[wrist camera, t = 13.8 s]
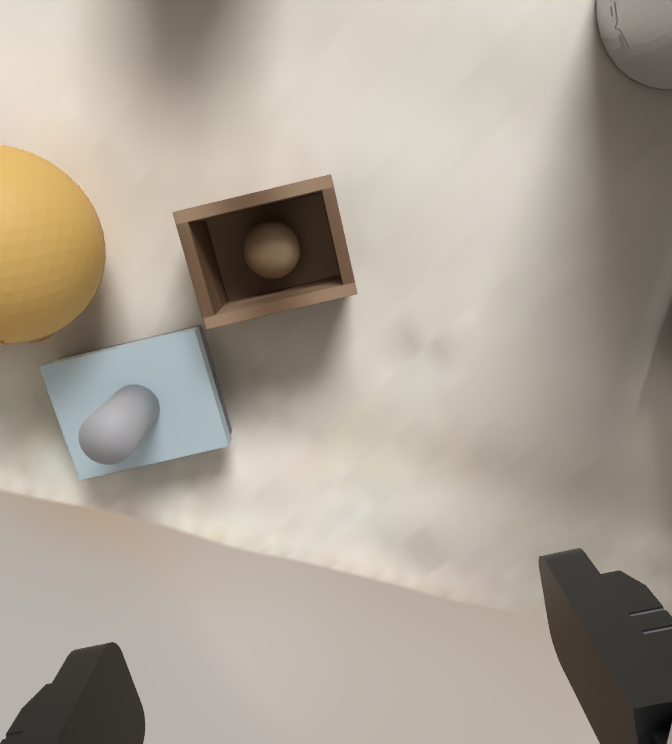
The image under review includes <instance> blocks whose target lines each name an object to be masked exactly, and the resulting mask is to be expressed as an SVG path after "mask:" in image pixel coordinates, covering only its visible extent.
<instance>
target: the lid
mask: <svg viewBox="0 0 672 744" xmlns="http://www.w3.org/2000/svg"><path fill="white" fill-rule="evenodd" d="M39 370H40V373H41V375H42V378H43V381H44V384H45V386H46V389H47V392H48V395H49V397H50V400H51V403H52V406H53V408H54V411H55V414H56V417H57V419H58V422H59V425H60V428H61V430H62V433H63V436H64V439H65V441H66V444H67V447H68V450H69V452H70V455H71V458H72V461H73V463H74V466H75V469H76V471H77V474H78V477H79V480H84V479H88V478H93V477H97V476H101V475H106V474H110V473H114V472H119V471H123V470H127V469H132V468H136V467H140V466H145V465H149V464H154V463H158V462H162V461H167V460H171V459H175V458H180V457H184V456H188V455H193V454H197V453H201V452H206V451H210V450H214V449H219V448H223V447H227V446H229V444H230V441H231V437H230V433H229V430H228V426H227V423H226V420H225V416H224V413H223V409H222V406H221V402H220V399H219V395H218V392H217V389H216V385H215V382H214V378H213V375H212V371H211V368H210V365H209V361H208V358H207V354H206V351H205V347H204V344H203V341H202V337H201V334H200V330H199V327H195V328H191V329H186V330H182V331H178V332H174V333H169V334H165V335H161V336H157V337H152V338H148V339H144V340H140V341H135V342H131V343H127V344H123V345H118V346H114V347H110V348H105V349H101V350H97V351H93V352H88V353H84V354H80V355H76V356H71V357H67V358H63V359H59V360H54V361H50V362H47V363H45V364H43V365H41V366H39Z"/></svg>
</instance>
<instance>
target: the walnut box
mask: <svg viewBox="0 0 672 744" xmlns="http://www.w3.org/2000/svg"><path fill="white" fill-rule="evenodd" d="M172 213H173V216H174V220H175V223H176V227H177V230H178V233H179V237H180V240H181V244H182V247H183V251H184V254H185V258H186V261H187V265H188V268H189V272H190V275H191V279H192V282H193V285H194V289H195V292H196V296H197V299H198V303H199V306H200V310H201V313H202V317H203V320H204V324H205V327H206V329H211V328H215V327H219V326H223V325H228V324H232V323H236V322H240V321H245V320H249V319H253V318H257V317H262V316H266V315H270V314H274V313H279V312H283V311H287V310H292V309H296V308H300V307H304V306H309V305H313V304H317V303H321V302H326V301H330V300H334V299H338V298H343V297H347V296H351V295H355V294H357V289H356V285H355V280H354V276H353V271H352V267H351V262H350V258H349V253H348V249H347V244H346V240H345V235H344V231H343V226H342V222H341V217H340V213H339V208H338V204H337V199H336V195H335V190H334V185H333V181H332V176H331V174H330V175H326V176H322V177H318V178H314V179H309V180H305V181H301V182H297V183H293V184H289V185H284V186H280V187H276V188H272V189H268V190H264V191H259V192H255V193H251V194H247V195H243V196H238V197H234V198H230V199H226V200H222V201H218V202H213V203H209V204H205V205H201V206H197V207H193V208H188V209H184V210H180V211H176V212H172ZM269 220H273V221H279V222H282V223H284V224H286V225H287V226H289V227H290V228H291V229H292V230H293V231H294V232H295V234H296V235H297V237H298V239H299V243H300V257H299V260H298V263H297V265H296V266H295V268H294V269H293V270H292V271H291V272H290V273H288V274H287V275H285V276H283V277H280V278H273V279H271V278H265V277H262V276H260V275H258V274H256V273H255V272H254V271H252V270H251V268H250V267H249V266H248V264H247V263H246V261H245V258H244V254H243V244H244V240H245V237H246V235H247V234H248V232H249V231H250V230H251V229H252V228H253V227H254V226H255V225H257V224H258V223H261V222H264V221H269Z"/></svg>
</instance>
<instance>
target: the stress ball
mask: <svg viewBox="0 0 672 744" xmlns="http://www.w3.org/2000/svg"><path fill="white" fill-rule="evenodd" d="M105 258H106V255H105V241H104V234H103V230H102V227H101V224H100V221H99V218H98V216H97V213H96V211H95V209H94V207H93V205H92V204H91V202H90V201H89V199H88V197H87V196H86V195H85V193H84V192H83V191H82V189H81V188H80V187H79V186H78V185H77V184H76V183H75V182H74V181H73V180H72V179H71V178H70V177H69V176H68V175H67V174H65V173H64V172H63V171H62V170H60V169H59V168H58V167H56V166H55V165H53V164H52V163H50V162H49V161H47V160H45V159H43V158H41V157H39V156H37V155H35V154H33V153H30V152H27V151H24V150H21V149H18V148H14V147H9V146H4V145H0V346H1V345H4V343H20V342H26V341H30V343H33V342H39V341H41V340H44V339H47V338H49V337H51V335H52V333H54V332H56V331H58V330H60V329H61V328H63V327H65V326H66V325H68V324H69V323H71V322H72V321H73V320H74V319H75V318H76V317H78V316H79V315H80V314H81V313H82V312H83V310H84V309H85V308H86V307H87V306H88V304H89V303H90V301H91V300H92V298H93V297H94V295H95V294H96V292H97V289H98V287H99V285H100V282H101V279H102V276H103V272H104V266H105Z"/></svg>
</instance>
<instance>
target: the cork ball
mask: <svg viewBox="0 0 672 744" xmlns="http://www.w3.org/2000/svg"><path fill="white" fill-rule="evenodd" d="M243 254H244V258H245V261H246V263H247V264H248V266H249V267H250V268H251V270H252V271H254V272H255V273H256V274H258V275H260V276H262V277H265V278H271V279H273V278H280V277H283V276H285V275H287V274H288V273H290V272H291V271H292V270H293V269H294V268H295V266H296V265H297V263H298V260H299V257H300V243H299V239H298V237H297V235H296V234H295V232H294V231H293V230H292V229H291V228H290V227H289V226H287V225H286V224H284V223H282V222H279V221H273V220H269V221H264V222H261V223H258V224H257V225H255V226H254V227H253V228H252V229H251V230H250V231H249V232H248V234H247V235H246V237H245V240H244V244H243Z"/></svg>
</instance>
